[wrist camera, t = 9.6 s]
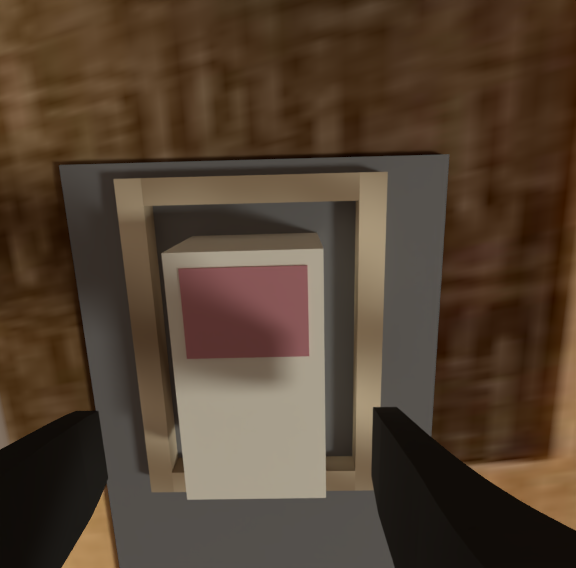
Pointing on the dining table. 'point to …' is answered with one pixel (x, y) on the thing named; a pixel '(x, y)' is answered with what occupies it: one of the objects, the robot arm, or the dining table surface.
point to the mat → (337, 344)
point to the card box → (249, 364)
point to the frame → (149, 310)
